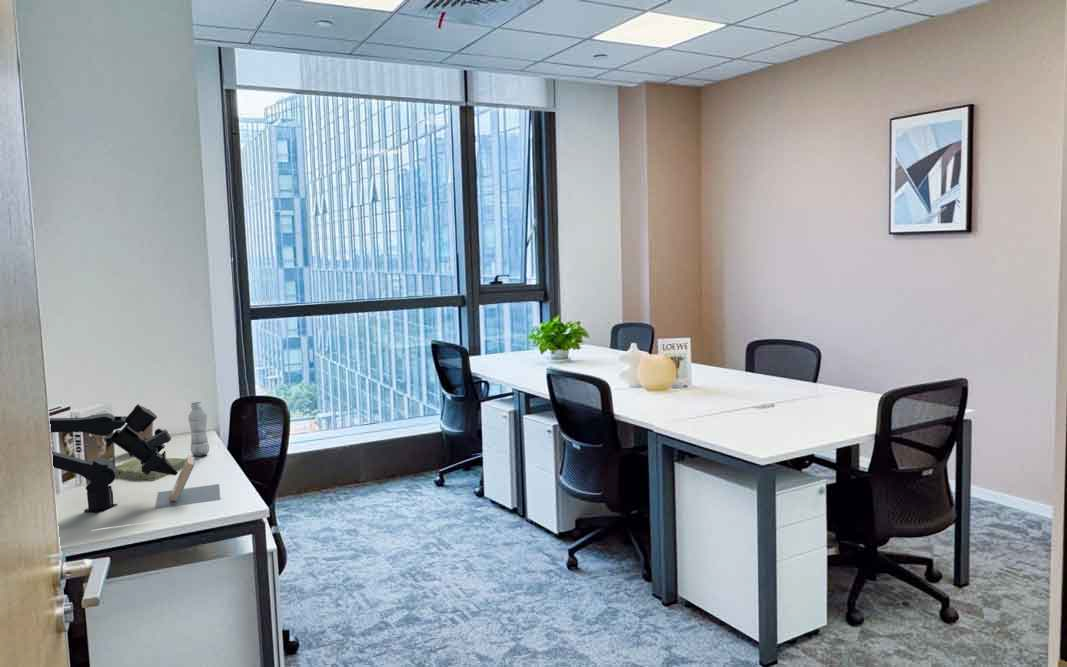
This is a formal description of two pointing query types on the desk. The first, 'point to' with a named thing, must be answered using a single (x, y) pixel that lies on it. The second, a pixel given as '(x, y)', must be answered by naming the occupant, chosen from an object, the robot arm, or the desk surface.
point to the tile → (182, 478)
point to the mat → (189, 496)
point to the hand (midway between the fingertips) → (176, 473)
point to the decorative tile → (135, 471)
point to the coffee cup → (147, 432)
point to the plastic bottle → (198, 430)
